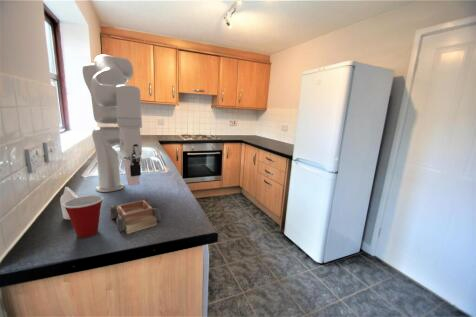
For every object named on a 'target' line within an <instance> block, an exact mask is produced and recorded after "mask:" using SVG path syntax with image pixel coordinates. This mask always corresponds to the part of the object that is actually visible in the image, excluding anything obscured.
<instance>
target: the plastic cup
mask: <svg viewBox="0 0 476 317" xmlns="http://www.w3.org/2000/svg"><path fill="white" fill-rule="evenodd" d="M103 200H104V196H102V195H98V194H97V195H96V194H95V195H85V196H78V198H74V199H71V200H68V201H66V202H64V203H63V206H64V207H65V208H66V210H67V213H68V214H69V217H70V219H69V220H70V223H71V225H72V227H73V229H74V233H75V235H76V237H78V238H80V239H86V238H90V237H93V236H95V235H96V234H97V233H98V231H99V223H100V215H101V208H102V203H103Z"/></svg>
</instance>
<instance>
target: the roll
mask: <svg viewBox="0 0 476 317" xmlns="http://www.w3.org/2000/svg"><path fill="white" fill-rule="evenodd" d="M78 197H79V196H78V195H77V194H76V192H74V191H73V190H72V189H71V188H70V187H69V186H65V187H64V191H63V193H62V195H61V197H60V198H59V201H60V202H59V203H60V207H61V213H62V218H63V219H64V220H70V217H69V214H68V213H67V210H66V208H65V207H64V206H63V203H64V202H66V201H68V200H71V199H74V198H78Z"/></svg>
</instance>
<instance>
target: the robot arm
mask: <svg viewBox="0 0 476 317" xmlns="http://www.w3.org/2000/svg"><path fill="white" fill-rule="evenodd" d="M133 76H134V66H133V64H132V62H131V61H130V60H129V59H128V58H125V57H119V56H114V55H109V54H100V55H97V56H96V57H95V59H94V60H93V63H86V64H84V65H83V66H82V78H83V81H84V83H85V85H86V87H87V89H88V91H89V93H90V98H91V104H92V113H93V119H94V121H95V123H97V124H100V125H117V126H99V127H96V128H94V129H93V130H92V132H91V133H92V134H91V136H92V140H93V144H94V147H95V154H96V165H97V166H96V167H97V175H98V185H96V186H95V190H96V191H97V192H99V193H111V192H116V191H119V190H122V189H123V188H125V184H124V183H123V182H121V172H120V156H119V153H120V154H121V155H122V156H123V157H127V158H128V157H129V156H130V161H131V165H130V173H131V176H132V177H133V176H141V175H142V171H141V168H142V167H141V166H140V158H142V157H141V156H142V152H143V148H142V138H141V137H142V136H141V135H142V134H141V129H142V128H143V120H142V102H141V101H142V98H141V90H140V88H139V87H138V86H137V85H128V83H129V81H131V79H132V77H133ZM115 146H116V147H117V146H119V153H118V152H117V150H116V149H114V148H113V147H115ZM132 155H133V156H132ZM133 158H135V159H134V160H133Z"/></svg>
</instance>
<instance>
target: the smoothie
mask: <svg viewBox="0 0 476 317" xmlns="http://www.w3.org/2000/svg"><path fill="white" fill-rule="evenodd" d="M132 156H133V155H132ZM134 159H135V158H133V160H134ZM142 160H143V159H142V157H141V158H140V167H141V165H142ZM121 162H123V167H124V172H125V177H126V181H127V185H128V186H137V185H139V184H140V176H141V175H140V176H133V177H132V176H131V173H130V165H131V161H130V156H129V157H128V158H127V157H125V156H123V157H122V158H121Z"/></svg>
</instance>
